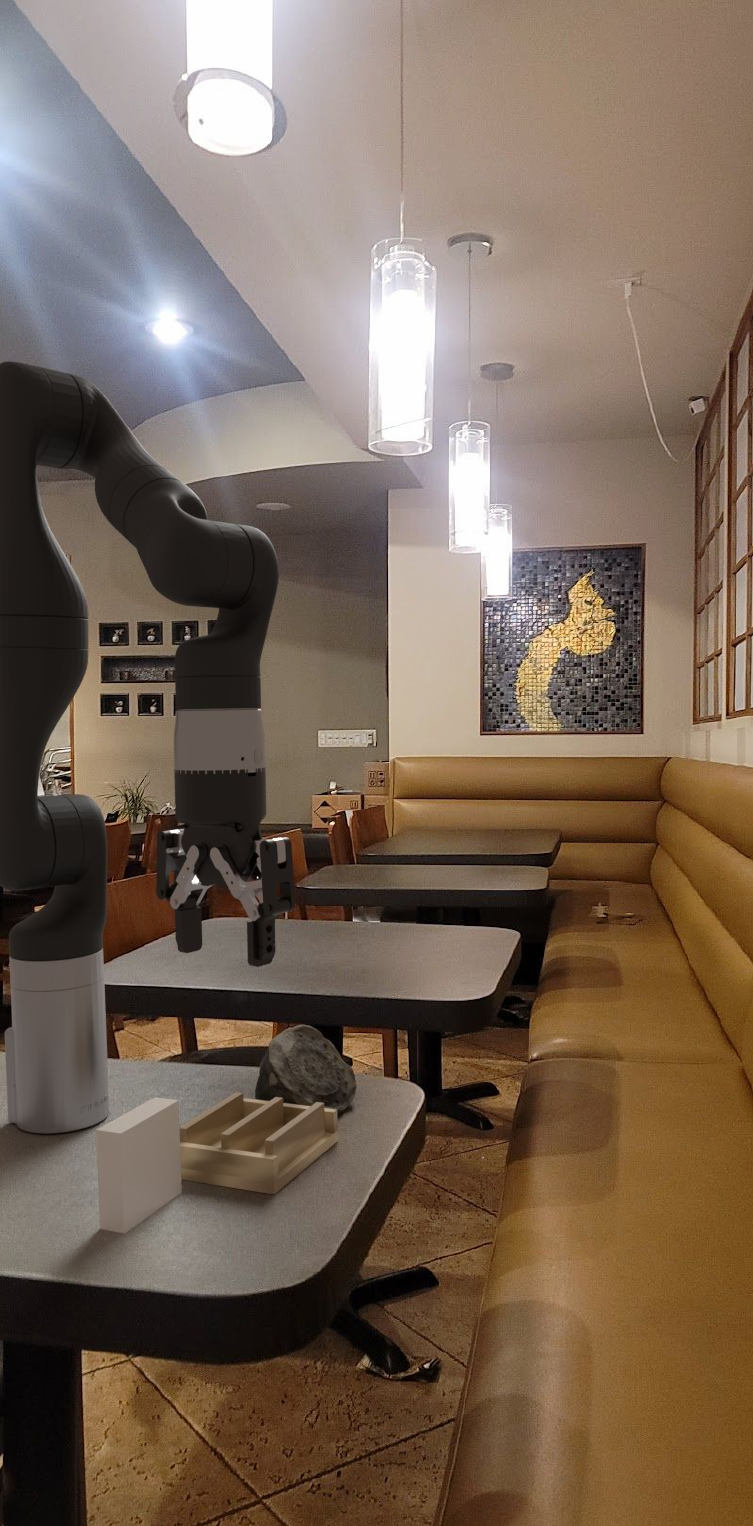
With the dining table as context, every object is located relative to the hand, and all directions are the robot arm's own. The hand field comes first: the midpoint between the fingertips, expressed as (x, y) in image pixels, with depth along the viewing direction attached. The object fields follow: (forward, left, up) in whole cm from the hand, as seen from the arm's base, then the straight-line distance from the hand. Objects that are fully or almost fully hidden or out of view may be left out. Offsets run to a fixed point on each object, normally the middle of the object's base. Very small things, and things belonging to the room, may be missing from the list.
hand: (224, 957), depth 90 cm
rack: (-2, +8, -20) cm, 22 cm away
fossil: (-4, +22, -21) cm, 30 cm away
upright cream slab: (-6, -4, -20) cm, 22 cm away
